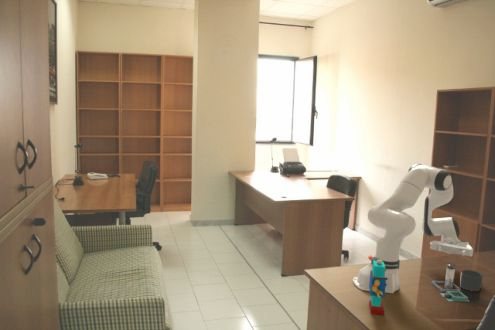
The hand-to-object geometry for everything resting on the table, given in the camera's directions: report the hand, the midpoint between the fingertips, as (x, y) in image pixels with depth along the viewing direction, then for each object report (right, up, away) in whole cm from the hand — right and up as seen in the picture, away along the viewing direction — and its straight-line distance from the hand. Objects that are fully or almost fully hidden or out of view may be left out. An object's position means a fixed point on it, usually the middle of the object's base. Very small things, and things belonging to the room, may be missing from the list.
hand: (451, 252), depth 212 cm
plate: (-8, -18, -18) cm, 27 cm away
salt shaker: (-5, -16, -7) cm, 19 cm away
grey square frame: (-6, -17, -7) cm, 19 cm away
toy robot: (-49, -18, -32) cm, 62 cm away
